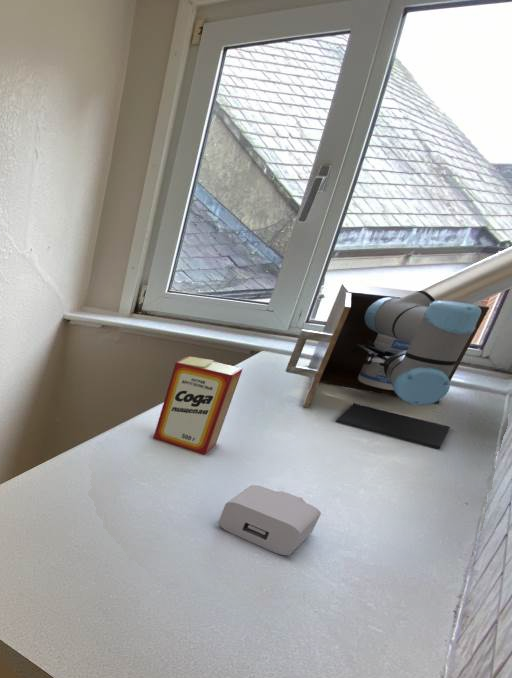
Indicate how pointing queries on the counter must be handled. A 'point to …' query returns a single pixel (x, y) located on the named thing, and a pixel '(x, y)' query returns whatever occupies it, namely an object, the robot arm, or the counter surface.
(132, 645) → the counter surface
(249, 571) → the counter surface
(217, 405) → the baking soda box
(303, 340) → the cupboard door
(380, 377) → the supplement tub
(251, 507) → the charger
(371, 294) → the cupboard
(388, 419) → the mat
